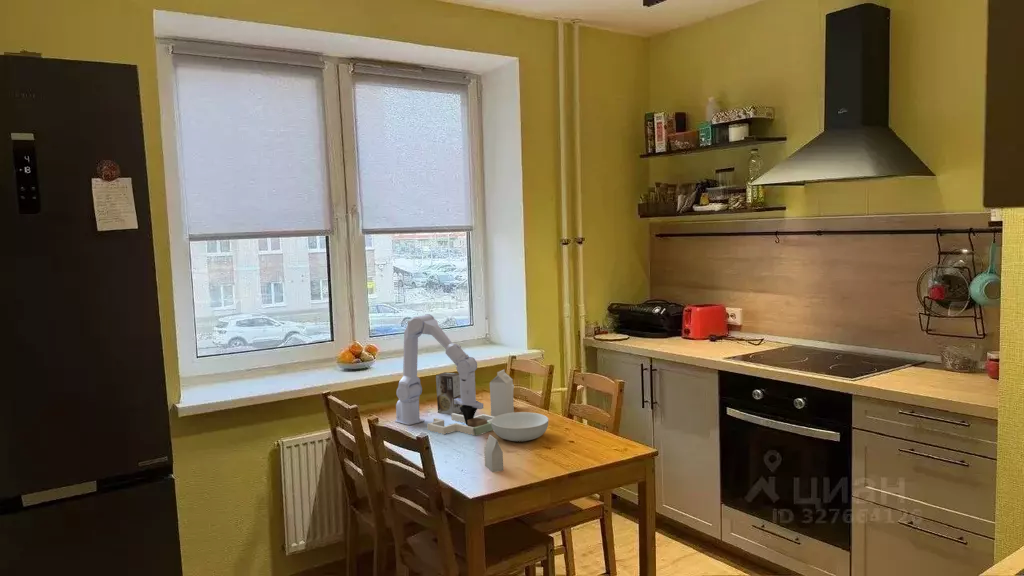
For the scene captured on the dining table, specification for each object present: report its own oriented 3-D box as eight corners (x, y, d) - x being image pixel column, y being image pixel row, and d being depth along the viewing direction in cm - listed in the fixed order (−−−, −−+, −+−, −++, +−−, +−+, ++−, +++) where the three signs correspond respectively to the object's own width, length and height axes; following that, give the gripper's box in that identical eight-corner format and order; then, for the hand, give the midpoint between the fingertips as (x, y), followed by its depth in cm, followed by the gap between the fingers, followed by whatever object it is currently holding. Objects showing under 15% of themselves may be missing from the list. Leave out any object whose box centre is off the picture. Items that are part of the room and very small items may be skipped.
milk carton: (491, 419, 283) (489, 372, 282) (498, 414, 290) (496, 368, 288) (507, 420, 281) (505, 373, 279) (514, 415, 287) (512, 369, 286)
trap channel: (421, 428, 273) (421, 421, 273) (465, 415, 290) (465, 409, 289) (463, 439, 257) (462, 432, 256) (507, 425, 273) (506, 418, 273)
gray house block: (492, 472, 221) (491, 440, 220) (485, 466, 227) (483, 435, 226) (503, 470, 222) (502, 439, 222) (495, 464, 229) (494, 433, 228)
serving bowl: (482, 444, 250) (482, 425, 250) (503, 428, 270) (503, 410, 269) (538, 448, 243) (538, 429, 243) (556, 432, 263) (555, 413, 262)
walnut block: (467, 430, 269) (467, 420, 268) (476, 427, 272) (476, 417, 272) (478, 433, 264) (478, 422, 264) (487, 430, 268) (487, 419, 267)
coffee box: (463, 411, 297) (462, 373, 296) (454, 415, 292) (452, 376, 291) (446, 409, 302) (444, 371, 301) (437, 412, 297) (435, 374, 296)
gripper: (447, 389, 272) (448, 423, 273) (473, 394, 262) (474, 430, 263) (461, 385, 277) (462, 420, 278) (486, 390, 267) (488, 426, 268)
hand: (469, 424), depth 271 cm, fingers closed
